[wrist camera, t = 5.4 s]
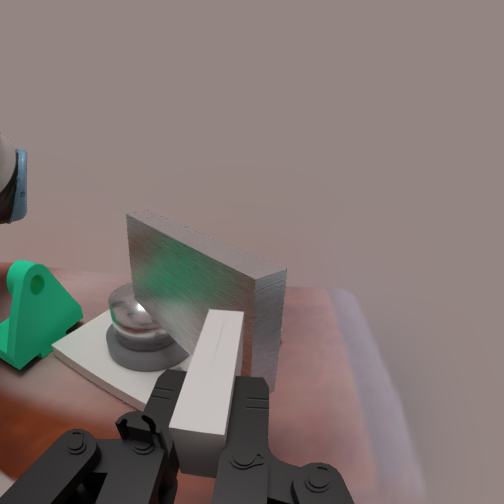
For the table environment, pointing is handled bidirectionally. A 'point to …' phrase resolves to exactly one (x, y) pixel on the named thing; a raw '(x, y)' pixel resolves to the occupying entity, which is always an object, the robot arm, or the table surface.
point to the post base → (101, 364)
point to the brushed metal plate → (196, 292)
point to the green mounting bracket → (35, 314)
